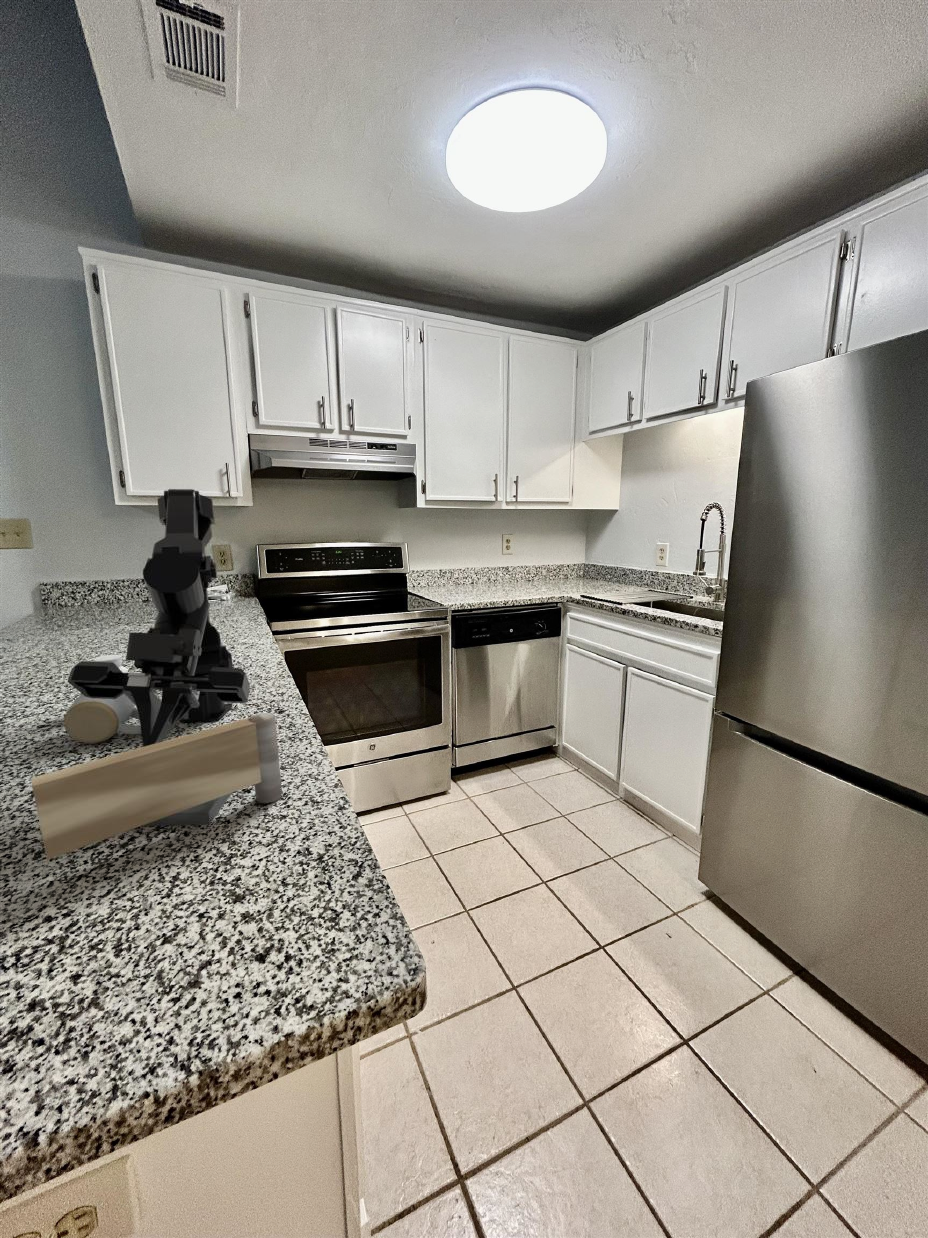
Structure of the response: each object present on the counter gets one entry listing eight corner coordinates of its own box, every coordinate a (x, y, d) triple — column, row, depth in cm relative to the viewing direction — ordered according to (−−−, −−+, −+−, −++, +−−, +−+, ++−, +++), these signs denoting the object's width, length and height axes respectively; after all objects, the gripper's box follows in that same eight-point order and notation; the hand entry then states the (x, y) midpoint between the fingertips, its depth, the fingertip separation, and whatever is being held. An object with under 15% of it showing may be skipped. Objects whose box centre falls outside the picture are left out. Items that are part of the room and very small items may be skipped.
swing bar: (49, 872, 49) (30, 776, 47) (275, 787, 64) (268, 710, 62) (53, 889, 47) (32, 788, 45) (286, 796, 62) (279, 718, 60)
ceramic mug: (64, 750, 75) (56, 701, 73) (83, 728, 82) (76, 683, 81) (146, 740, 78) (141, 693, 77) (158, 720, 86) (153, 676, 84)
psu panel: (126, 774, 68) (124, 760, 68) (248, 770, 69) (246, 757, 68) (62, 829, 56) (59, 813, 56) (209, 824, 57) (207, 808, 57)
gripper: (69, 594, 57) (17, 731, 50) (246, 607, 61) (223, 735, 54) (106, 638, 67) (67, 758, 59) (257, 646, 71) (239, 759, 63)
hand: (148, 752), depth 59 cm, fingers closed
